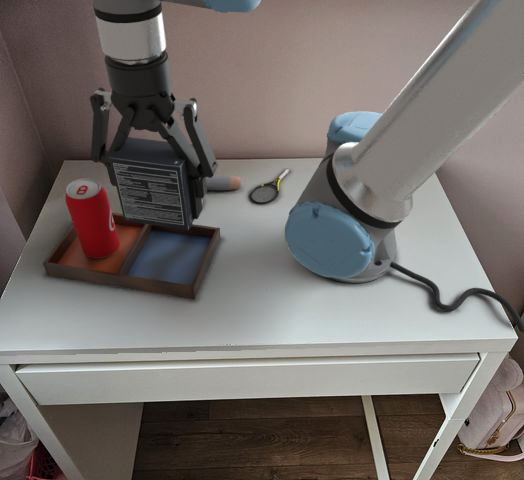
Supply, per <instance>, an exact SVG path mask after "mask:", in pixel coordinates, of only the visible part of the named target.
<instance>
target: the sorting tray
mask: <svg viewBox="0 0 524 480" xmlns="http://www.w3.org/2000/svg"><path fill="white" fill-rule="evenodd" d="M112 216H113V220H114V223H115V227H116V231H117V235H118V238H119V242H120V245H119V248H118V249H117V251H116V252H115V253H113V254H112V255H110V256H108V257H105V258H92V257H89V256H87V255H86V254H85V253H84V252H83V250H82V247H81V244H80V241H79V238H78V236H77V233H76V230H75V227H74V224H73V222H72V223H71V225H70V226H69V227H68V228H67V230H66V231H65V233H64V234H63V236H62V237H61V238H60V240H59V241H58V242H57V244H56V245H55V247H54V248H53V249H52V250H51V252H50V253H49V255H47V257H46V259H45V260H44V261H43V263H42V267H43V269H44V272H45V273H46V275H47V276H49V277H54V278H61V279H66V280H72V281H78V282H84V283H91V284H96V285H103V286H108V287H109V286H110V287H115V288H121V289H126V290H127V289H128V290H133V291H139V292H144V293H151V294H156V295H162V296H163V295H164V296H169V297H176V298H181V299H186V300H187V299H188V300H193V301H196V298H197V296H198V294H199V291H200V290H201V287H202V284H203V283H204V280H205V278H206V275H207V273H208V271H209V268H210V266H211V263H212V261H213V259H214V257H215V254H216V251H217V250H218V248H219V245H220V243H221V240H222V237H221V227H215V226H210V225H209V226H208V225H202V224H194V223H192V225H191V227H190V229H189V230H184V229H177V228H170V227H164V226H157V225H150V224H143V223H136V222H129V221H124V218H123V213H118V212H112Z"/></svg>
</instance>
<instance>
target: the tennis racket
mask: <svg viewBox="0 0 524 480" xmlns="http://www.w3.org/2000/svg"><path fill="white" fill-rule="evenodd" d="M289 172H290V168H289V167H288V168H286V169H285V170H284V172H282V173H281V174H280V175H279V176H278V177H277V178H275V179H274V180H272V181H269V182H266V183H263V184H260V185H258V186H256V187H254V189H253V190H252V191H251V193H250V199H251V201H252V202H253V203H255V204H258V205H266V204H270V203H272V202H273V201H275V200H276V199H277V198H278V196H279V194H280V188H279V187H280V186H279V185H280V182H281V180H282V179H283V178H284V177H285V176H286V175H287V174H288V173H289ZM275 182H277V183H276V185H275ZM268 187H272V188H273V189H269V188H268ZM259 189H260V193H264V195H262V194H259V192H258V190H259ZM265 190H266V191H267V192H264V191H265ZM255 192H256V197H259V198H257V199H254V198H255V195H254V193H255ZM270 192H271V193H270ZM274 192H275V193H276V194H273V193H274ZM270 194H271V195H270ZM268 196H270V199H268ZM260 199H262V201H260Z"/></svg>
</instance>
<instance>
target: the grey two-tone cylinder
mask: <svg viewBox="0 0 524 480" xmlns="http://www.w3.org/2000/svg"><path fill="white" fill-rule="evenodd" d="M206 187H207V191H232V190H239V189H241V188H242V177H240V176H236V175H224V174H223V175H222V174H221V175H217V174H216V175H215V174H214V175H213V177H211V178H208V177H206Z"/></svg>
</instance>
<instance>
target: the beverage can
mask: <svg viewBox="0 0 524 480" xmlns="http://www.w3.org/2000/svg"><path fill="white" fill-rule="evenodd" d="M65 192H66V193H65V197H64V198H65V204H66V206H67V209H68V212H69V215H70V218H71V221H72V223H73V224H74V227H75V230H76V233H77V236H78V238H79V241H80V244H81V247H82V250H83V252H84V253H85V254H86V255H87V256H89V257H92V258H105V257H108V256H110V255H112V254H113V253H115V252H116V251H117V249H118V248H119V245H120V242H119V238H118V235H117V231H116V227H115V223H114V220H113V216H112V213H113V211H112V208H111V206H110V205H111V204H110V201H109V198H108V194H107V192H106V189H105V188H104V187H103V186H102V184H101V183H100V182H99V181H98V180H97V179H94V178H92V177H89V178H88V177H84V178H78V179H74V180H73V181H70V183H68V184H67V185H66V188H65Z"/></svg>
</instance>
